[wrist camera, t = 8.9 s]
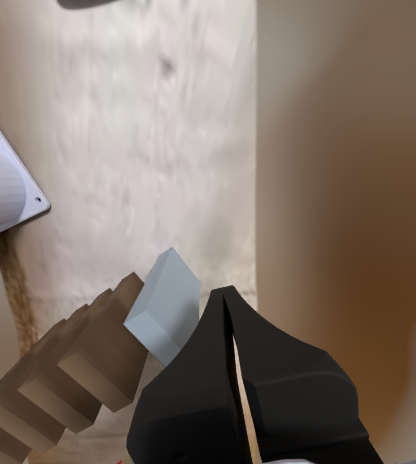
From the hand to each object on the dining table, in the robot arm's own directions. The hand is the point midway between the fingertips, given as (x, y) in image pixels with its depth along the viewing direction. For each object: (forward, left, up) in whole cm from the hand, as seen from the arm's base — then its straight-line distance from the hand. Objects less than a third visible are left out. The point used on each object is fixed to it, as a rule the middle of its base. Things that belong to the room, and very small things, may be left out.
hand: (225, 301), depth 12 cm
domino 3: (+2, -13, -9) cm, 16 cm away
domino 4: (+1, -9, -9) cm, 13 cm away
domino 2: (+3, -16, -9) cm, 19 cm away
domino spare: (+1, -4, -9) cm, 10 cm away
